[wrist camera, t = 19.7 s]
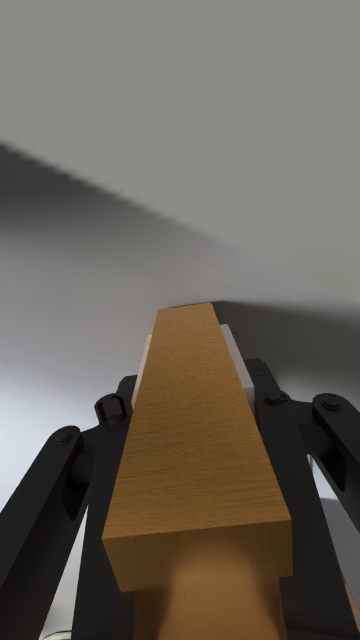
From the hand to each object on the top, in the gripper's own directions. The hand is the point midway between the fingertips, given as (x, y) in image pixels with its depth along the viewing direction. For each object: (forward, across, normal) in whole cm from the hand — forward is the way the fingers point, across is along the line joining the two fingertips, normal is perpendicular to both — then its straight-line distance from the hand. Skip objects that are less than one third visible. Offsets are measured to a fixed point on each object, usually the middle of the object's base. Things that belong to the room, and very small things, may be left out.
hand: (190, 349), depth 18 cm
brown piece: (+1, 0, -10) cm, 10 cm away
